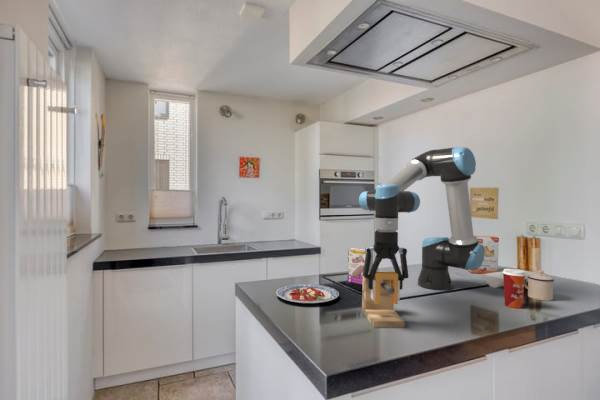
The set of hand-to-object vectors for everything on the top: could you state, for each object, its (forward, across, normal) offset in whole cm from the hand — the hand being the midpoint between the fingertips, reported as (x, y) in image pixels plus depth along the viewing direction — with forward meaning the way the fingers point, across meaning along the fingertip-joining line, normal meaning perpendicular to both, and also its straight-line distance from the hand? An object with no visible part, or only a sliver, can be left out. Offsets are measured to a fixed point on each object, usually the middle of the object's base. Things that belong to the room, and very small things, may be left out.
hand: (384, 298), depth 110 cm
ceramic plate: (+8, -24, +27) cm, 37 cm away
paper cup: (+8, +56, +16) cm, 59 cm away
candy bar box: (+8, +3, +49) cm, 50 cm away
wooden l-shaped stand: (+8, 0, +3) cm, 8 cm away
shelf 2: (+8, +79, +49) cm, 93 cm away
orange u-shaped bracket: (+1, 0, 0) cm, 1 cm away
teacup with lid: (+8, +75, +28) cm, 80 cm away
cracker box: (+8, +79, +73) cm, 108 cm away
